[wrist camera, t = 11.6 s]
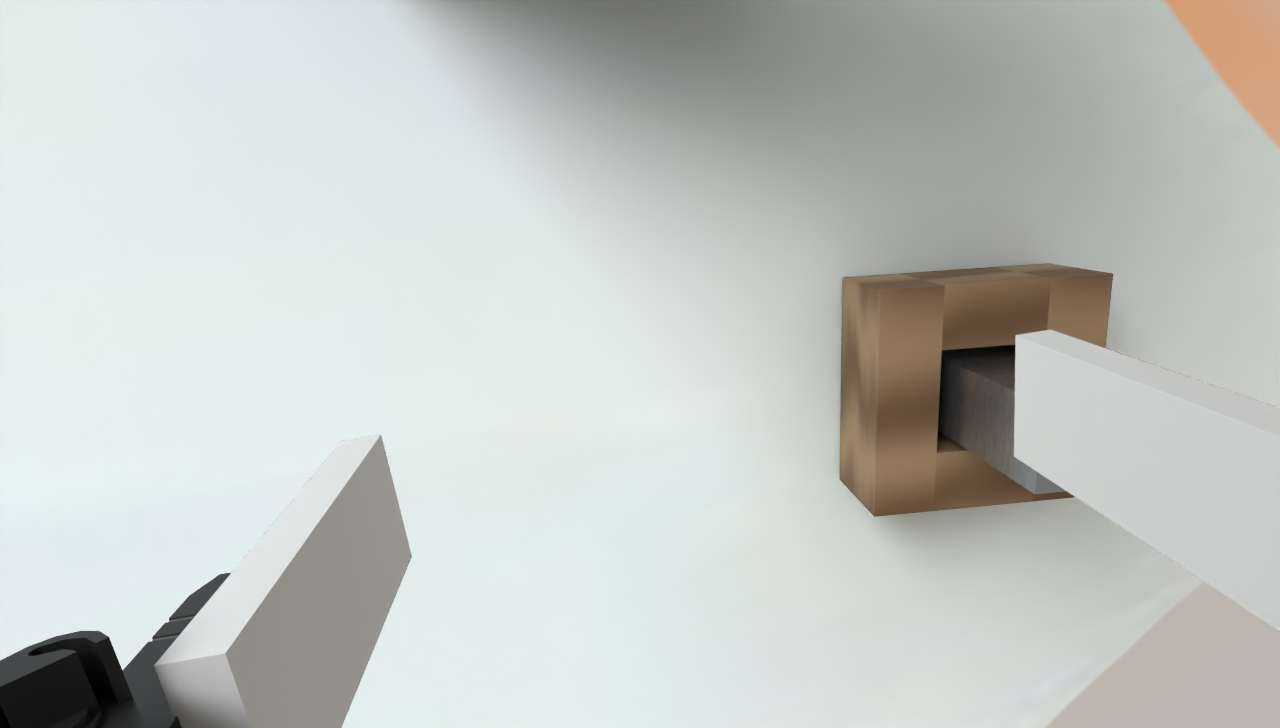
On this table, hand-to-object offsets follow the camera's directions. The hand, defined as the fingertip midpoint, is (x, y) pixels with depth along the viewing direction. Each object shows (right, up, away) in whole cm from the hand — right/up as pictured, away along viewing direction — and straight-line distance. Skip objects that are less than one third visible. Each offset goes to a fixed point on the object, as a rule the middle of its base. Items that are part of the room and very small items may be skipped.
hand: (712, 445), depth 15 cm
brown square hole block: (+16, +1, +27) cm, 31 cm away
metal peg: (+16, +1, +27) cm, 31 cm away
